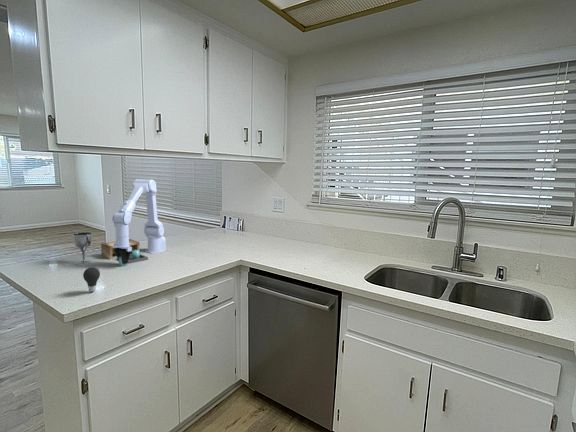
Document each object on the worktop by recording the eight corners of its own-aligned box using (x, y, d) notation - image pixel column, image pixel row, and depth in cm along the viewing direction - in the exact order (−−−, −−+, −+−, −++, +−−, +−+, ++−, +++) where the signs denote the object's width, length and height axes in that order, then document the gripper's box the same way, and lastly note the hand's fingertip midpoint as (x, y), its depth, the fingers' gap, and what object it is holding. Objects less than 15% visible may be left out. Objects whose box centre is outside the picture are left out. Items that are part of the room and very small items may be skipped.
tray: (137, 257, 176) (137, 253, 176) (148, 261, 169) (148, 257, 169) (117, 260, 167) (117, 256, 167) (127, 265, 161) (127, 261, 160)
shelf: (130, 250, 185) (130, 239, 184) (139, 254, 179) (139, 242, 178) (101, 256, 172) (101, 243, 171) (110, 259, 167) (109, 246, 166)
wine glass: (84, 265, 156) (82, 235, 153) (70, 263, 157) (68, 234, 155) (96, 261, 163) (95, 232, 161) (83, 259, 165) (82, 231, 163)
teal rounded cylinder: (138, 256, 172) (137, 249, 171) (140, 258, 170) (140, 250, 169) (131, 258, 170) (130, 250, 169) (133, 260, 167) (132, 252, 166)
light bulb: (86, 295, 121) (85, 270, 119) (81, 291, 124) (80, 267, 123) (102, 292, 125) (101, 267, 123) (97, 288, 128) (96, 264, 127)
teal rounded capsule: (124, 264, 161) (124, 255, 160) (128, 265, 159) (128, 257, 158) (117, 265, 158) (117, 257, 157) (121, 267, 156) (120, 258, 155)
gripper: (107, 234, 157) (107, 261, 159) (121, 239, 149) (121, 267, 151) (121, 233, 163) (122, 258, 165) (135, 237, 154) (136, 264, 156)
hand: (123, 262), depth 158 cm, fingers closed on teal rounded capsule, 4 cm apart
